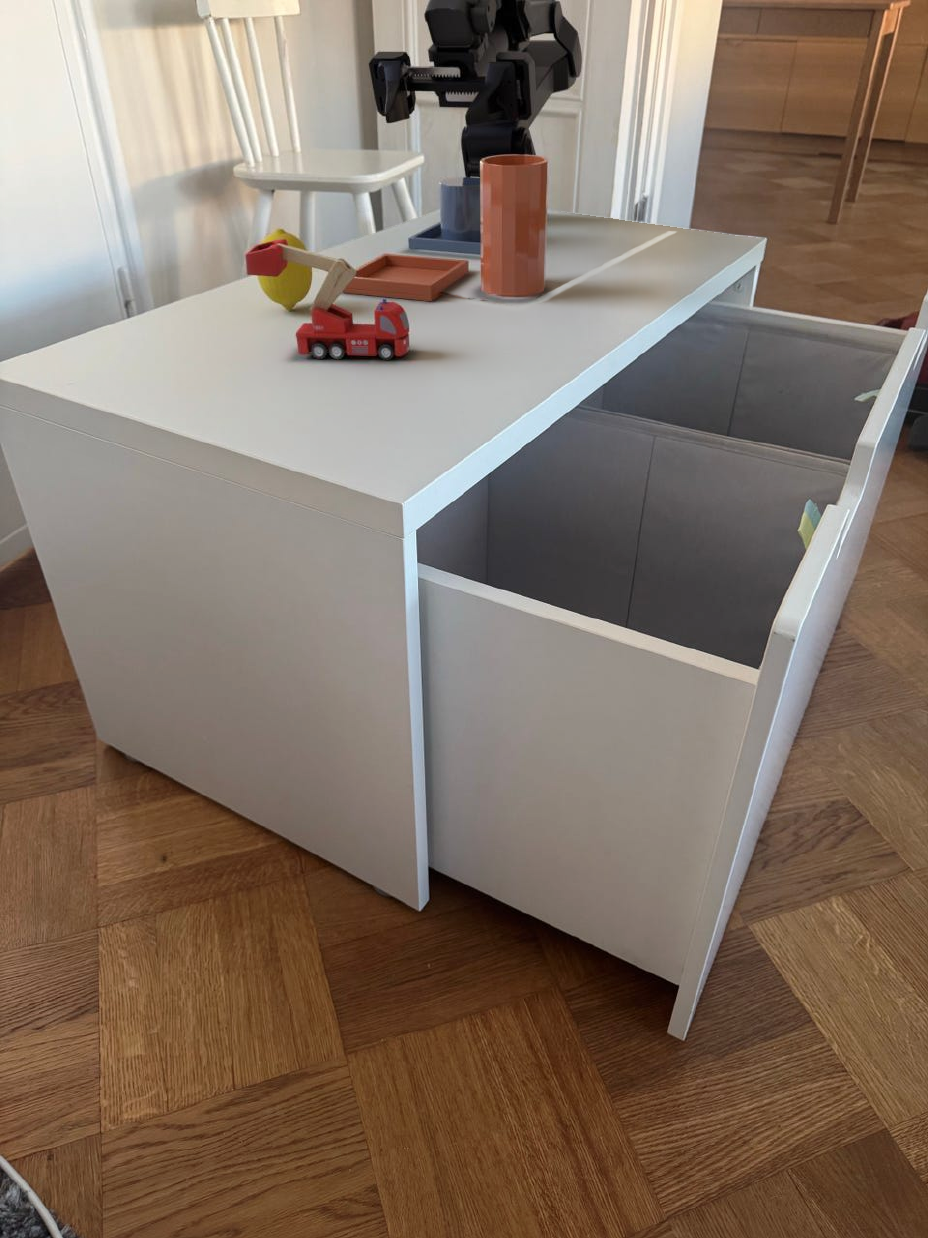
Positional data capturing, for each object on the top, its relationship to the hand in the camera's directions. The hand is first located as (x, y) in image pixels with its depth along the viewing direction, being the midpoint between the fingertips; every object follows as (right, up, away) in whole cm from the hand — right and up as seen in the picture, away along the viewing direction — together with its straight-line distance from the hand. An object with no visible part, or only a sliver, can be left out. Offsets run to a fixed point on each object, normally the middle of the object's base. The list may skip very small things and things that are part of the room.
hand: (426, 119), depth 97 cm
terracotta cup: (+9, -18, +2) cm, 20 cm away
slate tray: (+4, -6, +19) cm, 20 cm away
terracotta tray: (-2, -16, +5) cm, 17 cm away
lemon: (-14, -21, -2) cm, 26 cm away
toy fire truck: (-8, -29, -13) cm, 33 cm away
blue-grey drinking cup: (+4, -5, +19) cm, 20 cm away
